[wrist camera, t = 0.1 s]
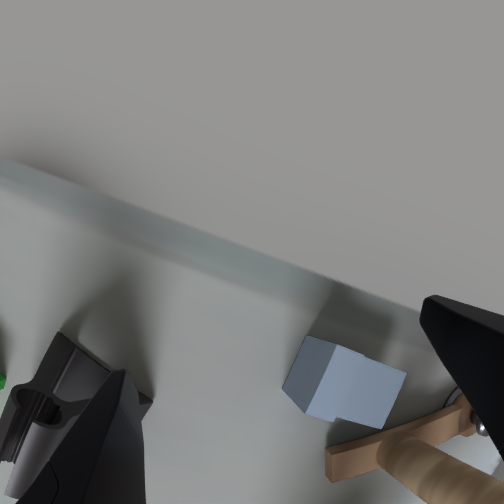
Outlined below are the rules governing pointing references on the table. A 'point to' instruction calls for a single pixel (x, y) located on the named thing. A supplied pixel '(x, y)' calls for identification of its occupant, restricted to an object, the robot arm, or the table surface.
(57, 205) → the table surface
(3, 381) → the pipe clamp
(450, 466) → the swing link
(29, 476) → the phone stand
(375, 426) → the bracket
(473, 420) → the pin stand
